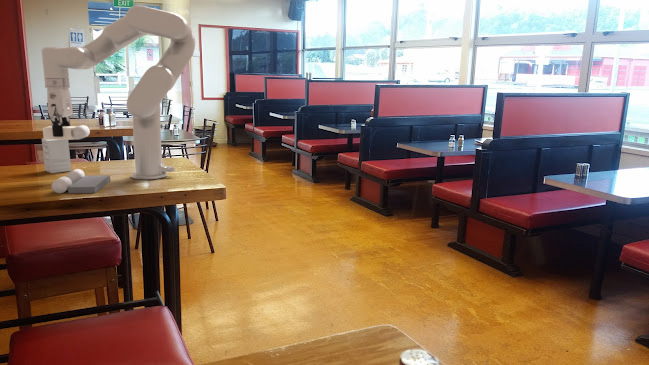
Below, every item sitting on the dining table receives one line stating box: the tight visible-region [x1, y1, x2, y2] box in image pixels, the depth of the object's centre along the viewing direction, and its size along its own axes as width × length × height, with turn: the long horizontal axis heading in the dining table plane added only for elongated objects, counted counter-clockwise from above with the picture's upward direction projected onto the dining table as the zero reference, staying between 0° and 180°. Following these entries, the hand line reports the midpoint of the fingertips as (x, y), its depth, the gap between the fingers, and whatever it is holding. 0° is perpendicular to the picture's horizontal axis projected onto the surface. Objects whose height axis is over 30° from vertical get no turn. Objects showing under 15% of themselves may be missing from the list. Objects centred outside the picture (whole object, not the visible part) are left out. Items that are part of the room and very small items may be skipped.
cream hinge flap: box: [42, 124, 91, 141], centre depth 174 cm, size 13×6×4 cm, turn 98°
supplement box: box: [41, 137, 72, 174], centre depth 188 cm, size 7×7×13 cm
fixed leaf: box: [51, 168, 111, 194], centre depth 164 cm, size 13×18×4 cm
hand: (62, 134), depth 174 cm, fingers closed on cream hinge flap, 6 cm apart
